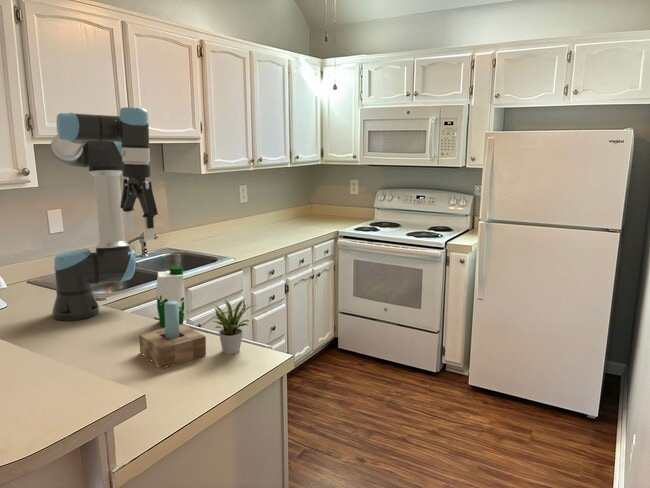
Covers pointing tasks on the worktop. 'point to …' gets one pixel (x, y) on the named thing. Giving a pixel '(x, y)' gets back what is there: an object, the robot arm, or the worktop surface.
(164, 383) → the worktop surface
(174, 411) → the worktop surface
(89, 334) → the worktop surface
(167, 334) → the peg
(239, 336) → the house plant
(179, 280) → the milk carton
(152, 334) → the socket block
